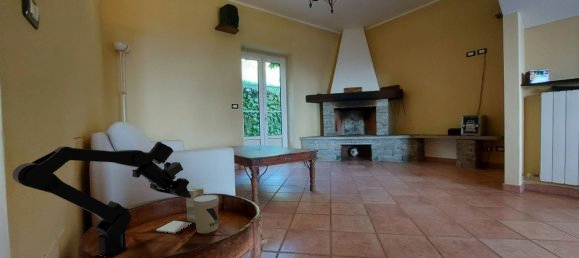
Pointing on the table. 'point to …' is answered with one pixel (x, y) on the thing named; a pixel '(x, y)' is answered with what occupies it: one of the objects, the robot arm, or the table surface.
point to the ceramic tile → (173, 226)
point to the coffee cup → (206, 213)
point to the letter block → (189, 202)
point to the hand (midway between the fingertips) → (183, 195)
